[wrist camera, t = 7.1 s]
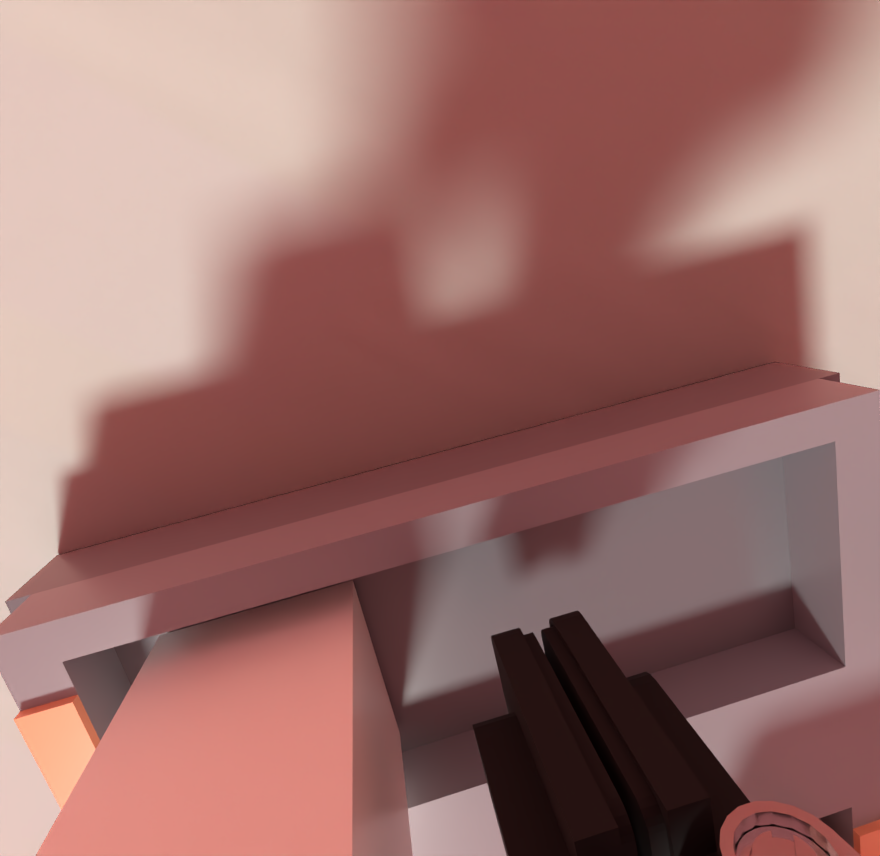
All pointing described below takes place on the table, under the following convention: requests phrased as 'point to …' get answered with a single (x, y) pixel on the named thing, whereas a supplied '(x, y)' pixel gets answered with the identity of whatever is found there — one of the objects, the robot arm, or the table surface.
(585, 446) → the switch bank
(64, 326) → the table surface
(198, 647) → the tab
